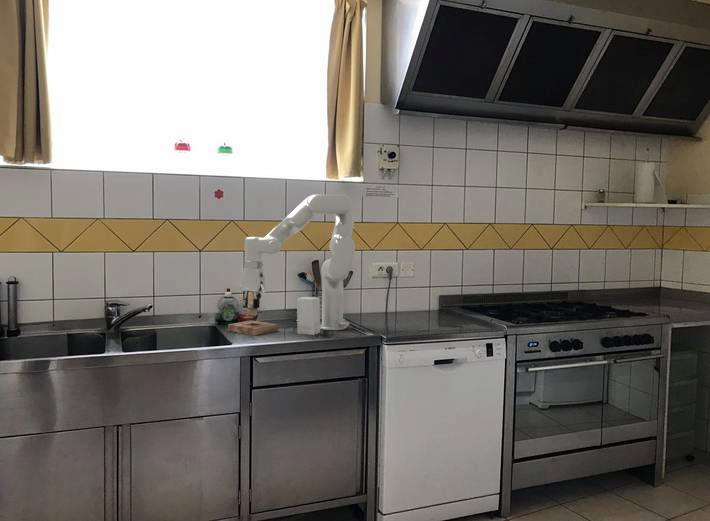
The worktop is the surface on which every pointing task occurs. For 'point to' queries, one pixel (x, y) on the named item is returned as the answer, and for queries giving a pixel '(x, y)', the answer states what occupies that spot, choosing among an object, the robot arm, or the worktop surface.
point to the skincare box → (308, 315)
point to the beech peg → (251, 305)
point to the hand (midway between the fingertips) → (252, 307)
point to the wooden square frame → (252, 327)
